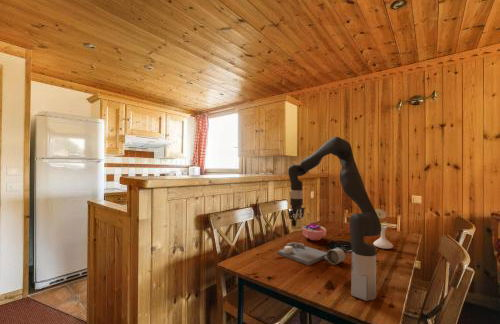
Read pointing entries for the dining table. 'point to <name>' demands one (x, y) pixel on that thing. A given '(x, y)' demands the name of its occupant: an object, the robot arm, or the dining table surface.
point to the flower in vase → (382, 232)
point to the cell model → (314, 231)
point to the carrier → (302, 253)
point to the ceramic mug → (335, 256)
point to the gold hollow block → (297, 225)
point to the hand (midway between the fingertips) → (296, 225)
